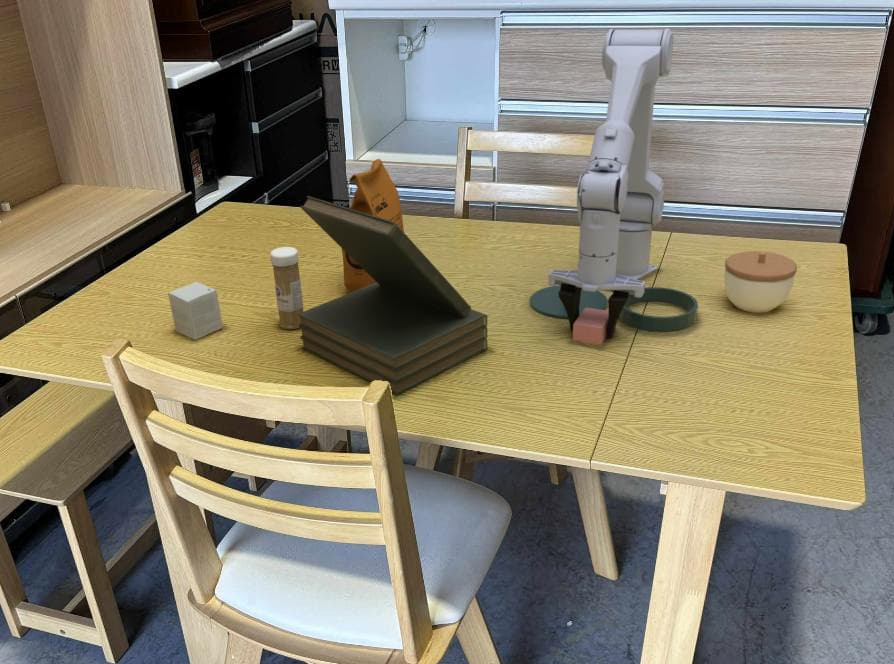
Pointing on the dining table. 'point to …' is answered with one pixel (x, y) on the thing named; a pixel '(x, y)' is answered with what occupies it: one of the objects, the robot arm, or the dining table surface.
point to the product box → (195, 310)
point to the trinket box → (758, 280)
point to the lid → (552, 306)
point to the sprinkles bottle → (287, 286)
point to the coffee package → (376, 200)
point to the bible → (389, 307)
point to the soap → (591, 326)
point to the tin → (661, 322)
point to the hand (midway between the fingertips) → (592, 331)
